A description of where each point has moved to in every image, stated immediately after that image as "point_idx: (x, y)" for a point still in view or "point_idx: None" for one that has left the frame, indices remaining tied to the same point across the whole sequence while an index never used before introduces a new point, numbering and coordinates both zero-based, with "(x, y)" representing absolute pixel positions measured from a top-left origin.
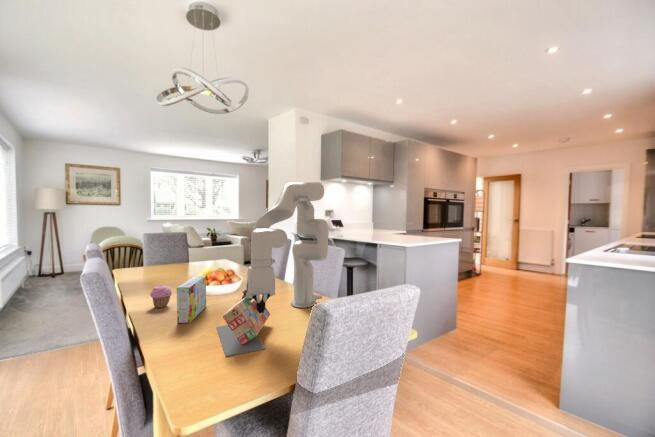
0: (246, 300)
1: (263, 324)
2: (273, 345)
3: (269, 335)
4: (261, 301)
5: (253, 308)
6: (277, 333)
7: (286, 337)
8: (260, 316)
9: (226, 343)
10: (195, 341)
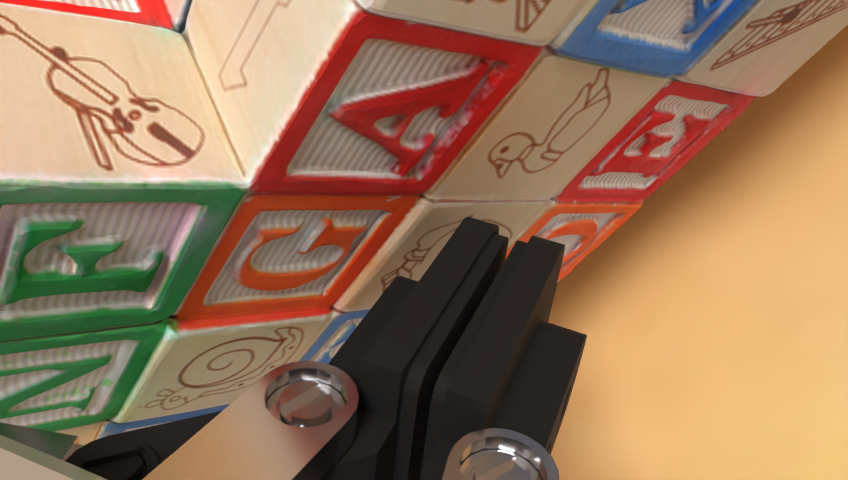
0: (23, 334)
1: (574, 266)
2: (573, 453)
3: (678, 238)
4: (436, 461)
5: (333, 241)
6: (817, 257)
7: (825, 423)
8: (545, 210)
9: None
10: None
